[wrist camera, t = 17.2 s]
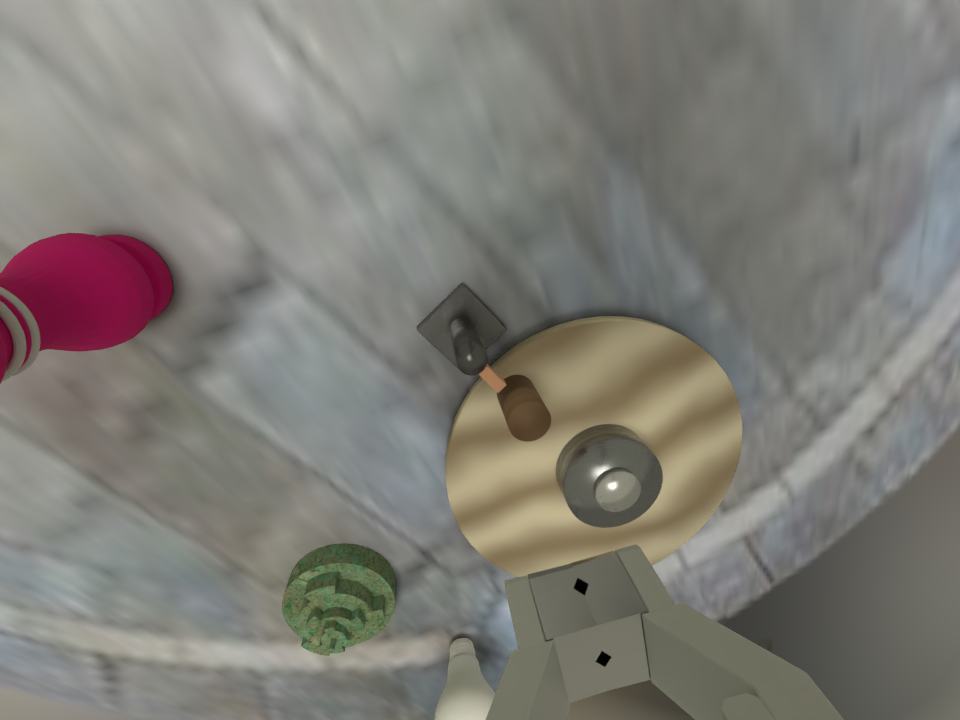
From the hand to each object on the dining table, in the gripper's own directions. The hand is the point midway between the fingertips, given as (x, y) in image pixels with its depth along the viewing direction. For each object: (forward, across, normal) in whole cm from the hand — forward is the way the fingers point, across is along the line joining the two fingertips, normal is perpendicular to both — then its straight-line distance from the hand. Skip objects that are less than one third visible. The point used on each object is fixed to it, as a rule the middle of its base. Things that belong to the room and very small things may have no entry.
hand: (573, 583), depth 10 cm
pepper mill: (+29, +23, -7) cm, 38 cm away
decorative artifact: (+30, +18, +25) cm, 43 cm away
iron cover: (+26, -8, +17) cm, 32 cm away
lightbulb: (+29, +9, +36) cm, 47 cm away
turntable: (+27, -8, +17) cm, 33 cm away
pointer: (+29, +1, +3) cm, 29 cm away
